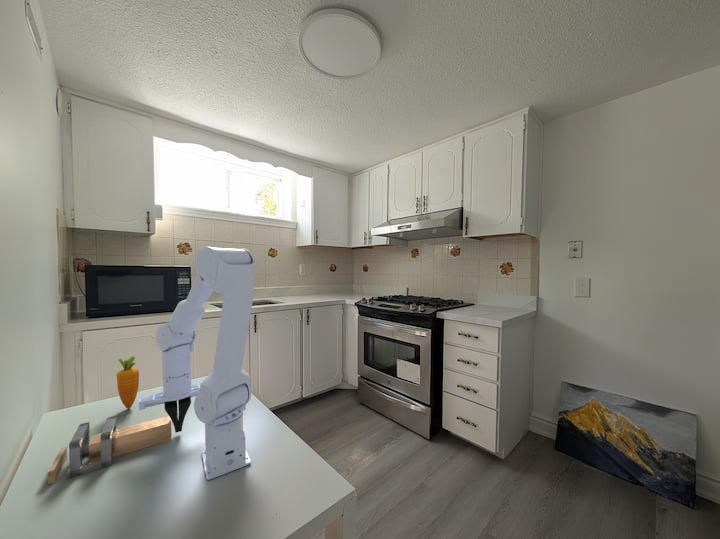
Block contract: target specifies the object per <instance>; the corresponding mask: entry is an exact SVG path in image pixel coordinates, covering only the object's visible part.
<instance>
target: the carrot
mask: <svg viewBox="0 0 720 539" xmlns="http://www.w3.org/2000/svg"><path fill="white" fill-rule="evenodd" d="M117 359H118V362H119V363H120V364H121V366H122V369H121V370H119V371H118V372H117V373H116V384H117V387H116V388H117V392H118V395H119V398H120V401H121V403H122V404H123V406H124V407H125V409H127V410H129V409H131V408H132V406H133V405H134V402H135V401H136V398H137V395H138V391H139V385H140V371H139V369H137V368H136V367H133V366H134V365H136V364H137V363H136V362H134V360H135V359H136V356H135V355H131V356H130V357H128V359H127V358H126V359H124V360H123V359H122V358H121V357H120V358H117Z"/></svg>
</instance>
